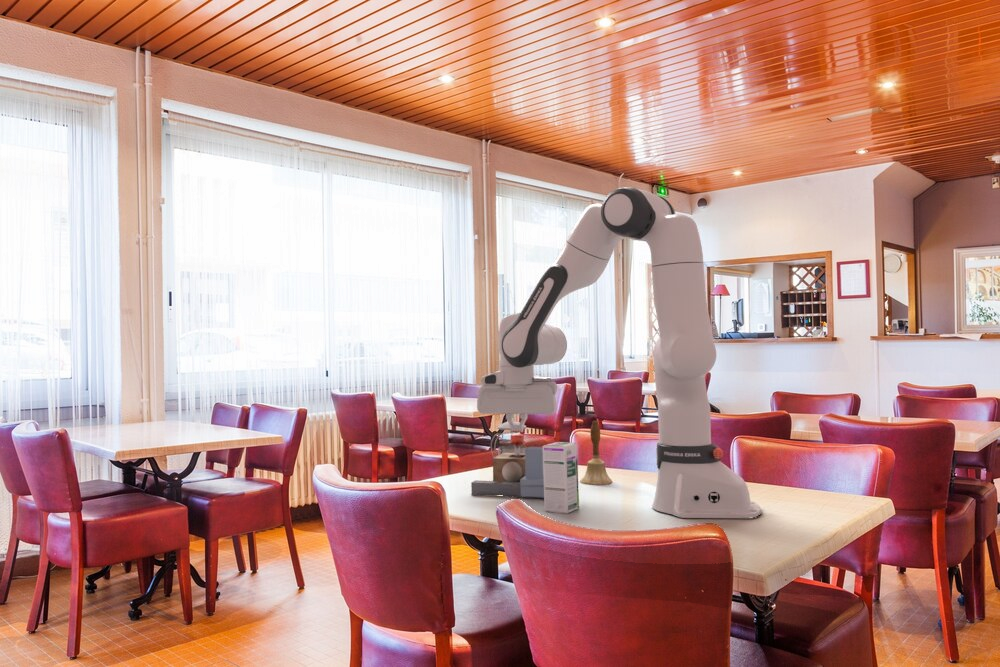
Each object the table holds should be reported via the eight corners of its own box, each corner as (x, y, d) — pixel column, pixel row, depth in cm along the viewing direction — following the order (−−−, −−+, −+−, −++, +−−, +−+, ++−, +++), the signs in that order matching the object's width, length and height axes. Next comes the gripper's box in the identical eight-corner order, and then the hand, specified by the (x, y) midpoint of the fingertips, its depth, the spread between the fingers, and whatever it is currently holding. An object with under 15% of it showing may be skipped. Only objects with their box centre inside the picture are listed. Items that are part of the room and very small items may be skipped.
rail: (559, 496, 178) (559, 483, 178) (556, 498, 175) (556, 485, 175) (475, 492, 184) (475, 480, 184) (471, 495, 181) (471, 482, 181)
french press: (538, 477, 204) (536, 385, 205) (504, 482, 198) (502, 387, 198) (515, 472, 212) (514, 384, 213) (482, 477, 205) (481, 386, 206)
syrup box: (567, 514, 159) (566, 445, 159) (543, 511, 162) (542, 444, 163) (579, 509, 164) (578, 442, 164) (555, 506, 167) (554, 441, 167)
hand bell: (614, 484, 192) (613, 422, 192) (581, 485, 192) (581, 422, 192) (610, 479, 200) (609, 419, 201) (579, 479, 200) (578, 419, 201)
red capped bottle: (525, 466, 191) (525, 434, 191) (522, 468, 188) (521, 436, 188) (512, 465, 192) (512, 434, 192) (509, 467, 189) (508, 436, 189)
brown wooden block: (541, 484, 193) (541, 453, 193) (531, 492, 183) (531, 459, 183) (504, 483, 196) (504, 452, 196) (492, 490, 186) (492, 458, 186)
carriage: (551, 492, 181) (550, 446, 181) (545, 497, 174) (544, 450, 174) (527, 491, 182) (526, 445, 182) (520, 496, 176) (519, 449, 176)
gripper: (559, 376, 190) (559, 431, 190) (482, 376, 196) (482, 429, 196) (553, 377, 184) (554, 434, 184) (474, 377, 190) (475, 432, 190)
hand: (516, 431), depth 190 cm, fingers closed
